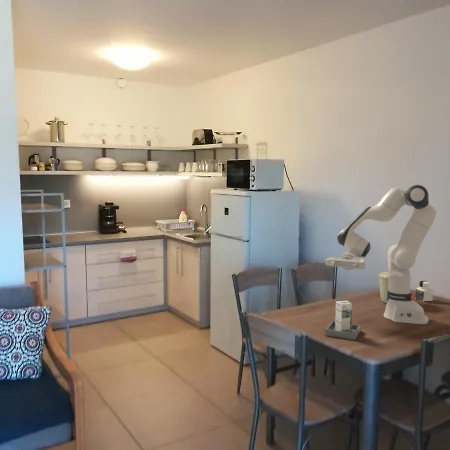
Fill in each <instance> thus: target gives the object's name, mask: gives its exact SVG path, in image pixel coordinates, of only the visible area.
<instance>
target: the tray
mask: <svg viewBox="0 0 450 450" xmlns="http://www.w3.org/2000/svg"><path fill="white" fill-rule="evenodd" d="M360 332H361V325H360V324H354V323H352V325H351V333H350V332H343V331H336V330H335V320H334V321H330V323H329V324H328V325H327V327H326V329H325V332H324V333H325V334H324V335H325V336H326V337H332V338H339V339H344V338H345V340H352V341H356V340H357V338H358V336H359V334H360Z"/></svg>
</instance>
